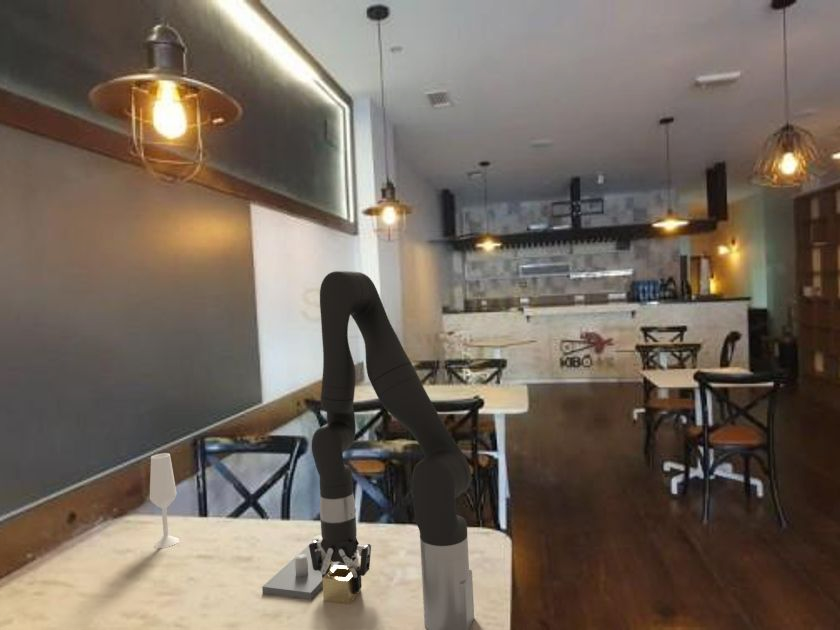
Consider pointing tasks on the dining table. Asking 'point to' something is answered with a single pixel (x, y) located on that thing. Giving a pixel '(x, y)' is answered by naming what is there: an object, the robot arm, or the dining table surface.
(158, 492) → the champagne flute
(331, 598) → the hollow square frame
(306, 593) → the stub plate
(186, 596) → the dining table surface
